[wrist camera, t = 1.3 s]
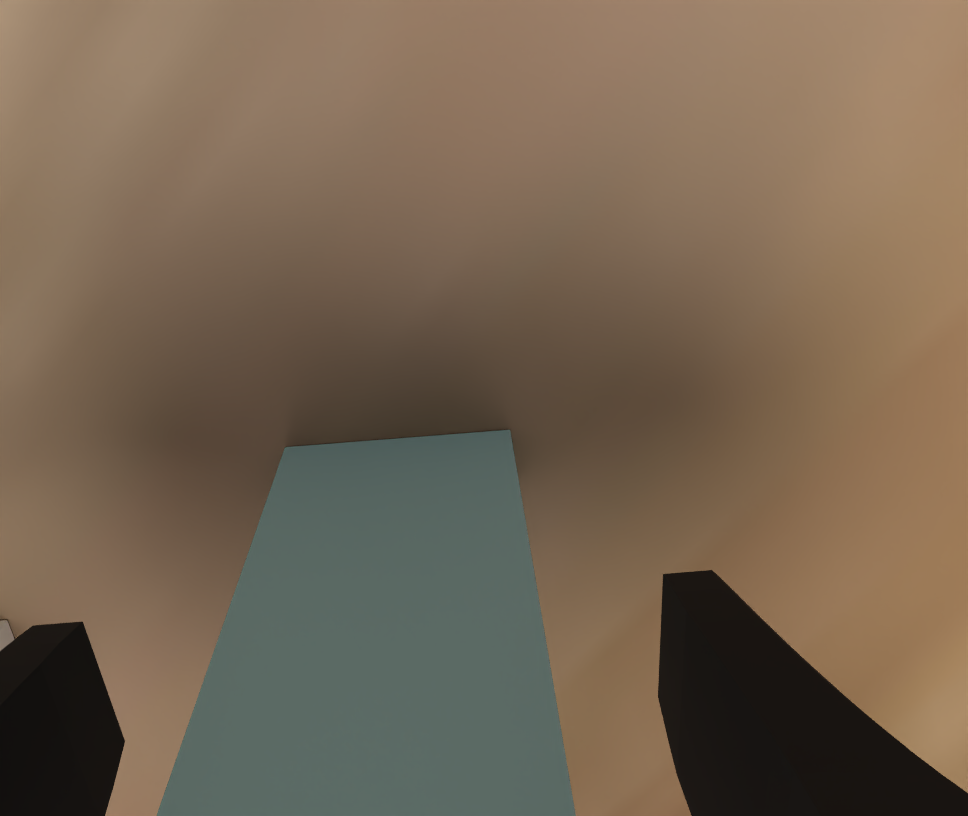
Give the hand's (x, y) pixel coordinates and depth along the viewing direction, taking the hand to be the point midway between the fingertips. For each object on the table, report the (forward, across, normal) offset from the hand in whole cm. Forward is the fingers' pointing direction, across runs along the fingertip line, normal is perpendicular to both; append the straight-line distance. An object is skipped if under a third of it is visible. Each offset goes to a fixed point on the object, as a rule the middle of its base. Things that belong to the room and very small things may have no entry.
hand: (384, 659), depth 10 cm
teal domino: (+5, 0, 0) cm, 5 cm away
